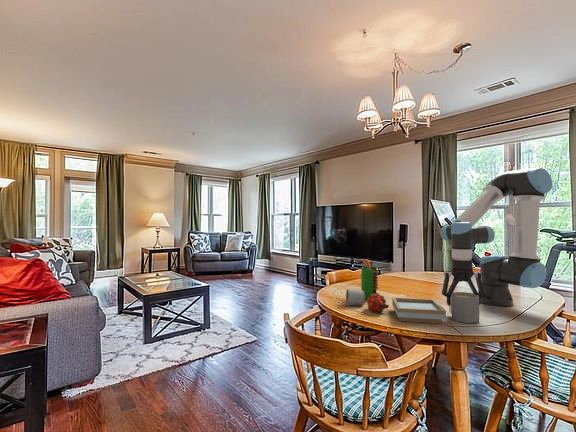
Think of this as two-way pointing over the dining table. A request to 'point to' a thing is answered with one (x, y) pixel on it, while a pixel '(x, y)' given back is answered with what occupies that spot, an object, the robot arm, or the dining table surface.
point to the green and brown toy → (369, 279)
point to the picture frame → (419, 310)
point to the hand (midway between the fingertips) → (463, 313)
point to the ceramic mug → (355, 297)
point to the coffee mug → (465, 307)
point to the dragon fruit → (376, 302)
